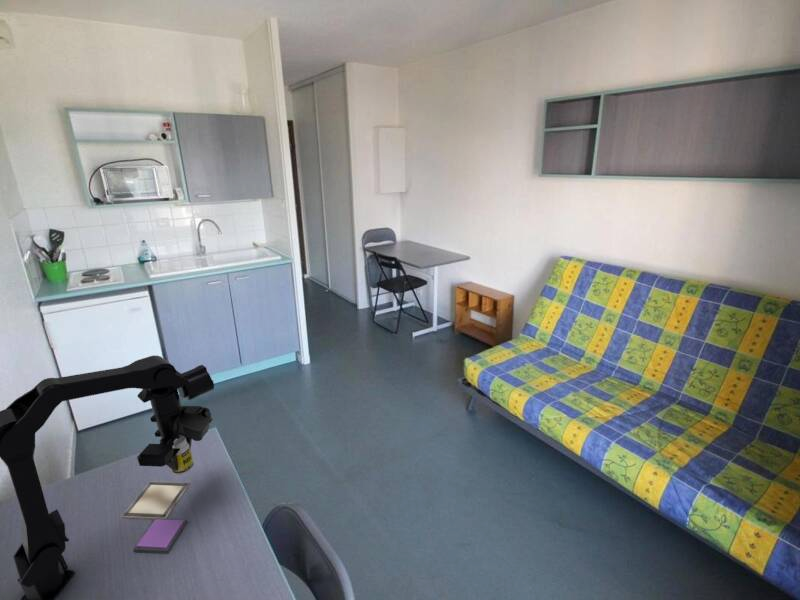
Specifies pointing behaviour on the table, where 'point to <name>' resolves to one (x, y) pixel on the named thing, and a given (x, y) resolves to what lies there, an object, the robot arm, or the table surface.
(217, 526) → the table surface
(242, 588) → the table surface
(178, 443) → the supplement bottle
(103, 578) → the table surface
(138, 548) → the ink pad
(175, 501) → the marked board
